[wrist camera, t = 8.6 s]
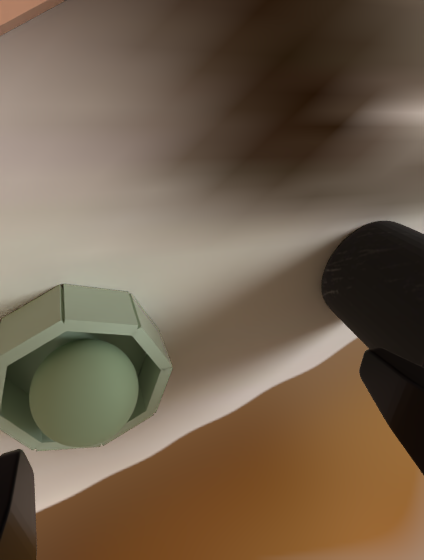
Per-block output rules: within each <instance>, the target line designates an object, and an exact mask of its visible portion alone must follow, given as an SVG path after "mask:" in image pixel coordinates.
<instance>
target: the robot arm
mask: <svg viewBox="0 0 424 560" xmlns="http://www.w3.org/2000/svg"><path fill="white" fill-rule="evenodd" d="M359 373H360V377H361V379H362V381H363V382H364V384H365V386H366V388H367V389H368V391H369V393H370V394H371V396H372V398H373V400H374V401H375V403H376V405H377V407H378V408H379V410H380V412H381V413H382V415H383V417H384V419H385V420H386V422H387V424H388V425H389V427H390V428H391V430H392V431H393V433H394V434H395V435H396V437H397V438H398V440H399V441H400V442H401V444H402V445H403V447H404V448H405V449H406V451H407V452H408V454H409V455H410V456H411V458H412V459H413V461H414V462H415V463H416V465H417V466H418V468H419V469H420V470H421V472H422V473H423V475H424V367H422V366H420V365H418V364H416V363H413V362H411V361H409V360H407V359H405V358H403V357H401V356H398V355H396V354H394V353H392V352H390V351H388V350H386V349H383V348H381V347H376V348H372V349H369V350H366V351H365V353H364V356H363V359H362V363H361V366H360V370H359ZM36 554H37V544H36V514H35V488H34V474H33V470H32V467H31V465H30V463H29V461H28V459H27V457H26V455H25V454H24V452H23V451H22V450H21V449H17V450H14V451H10V452H7V453H4V454H2V455H1V456H0V560H36Z"/></svg>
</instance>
